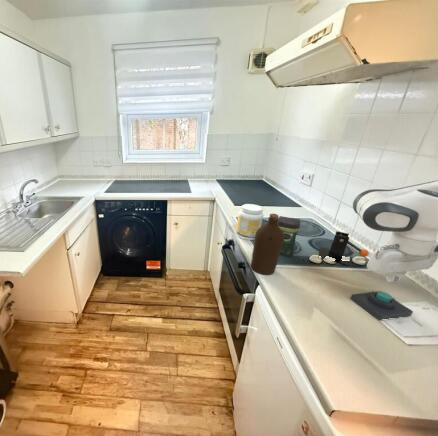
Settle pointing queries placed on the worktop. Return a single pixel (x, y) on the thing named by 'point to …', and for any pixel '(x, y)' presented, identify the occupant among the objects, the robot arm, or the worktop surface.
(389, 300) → the button
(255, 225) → the supplement tub
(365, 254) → the switch
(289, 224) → the coffee jar
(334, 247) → the switch bracket
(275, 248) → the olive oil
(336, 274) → the worktop surface
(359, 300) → the button housing
